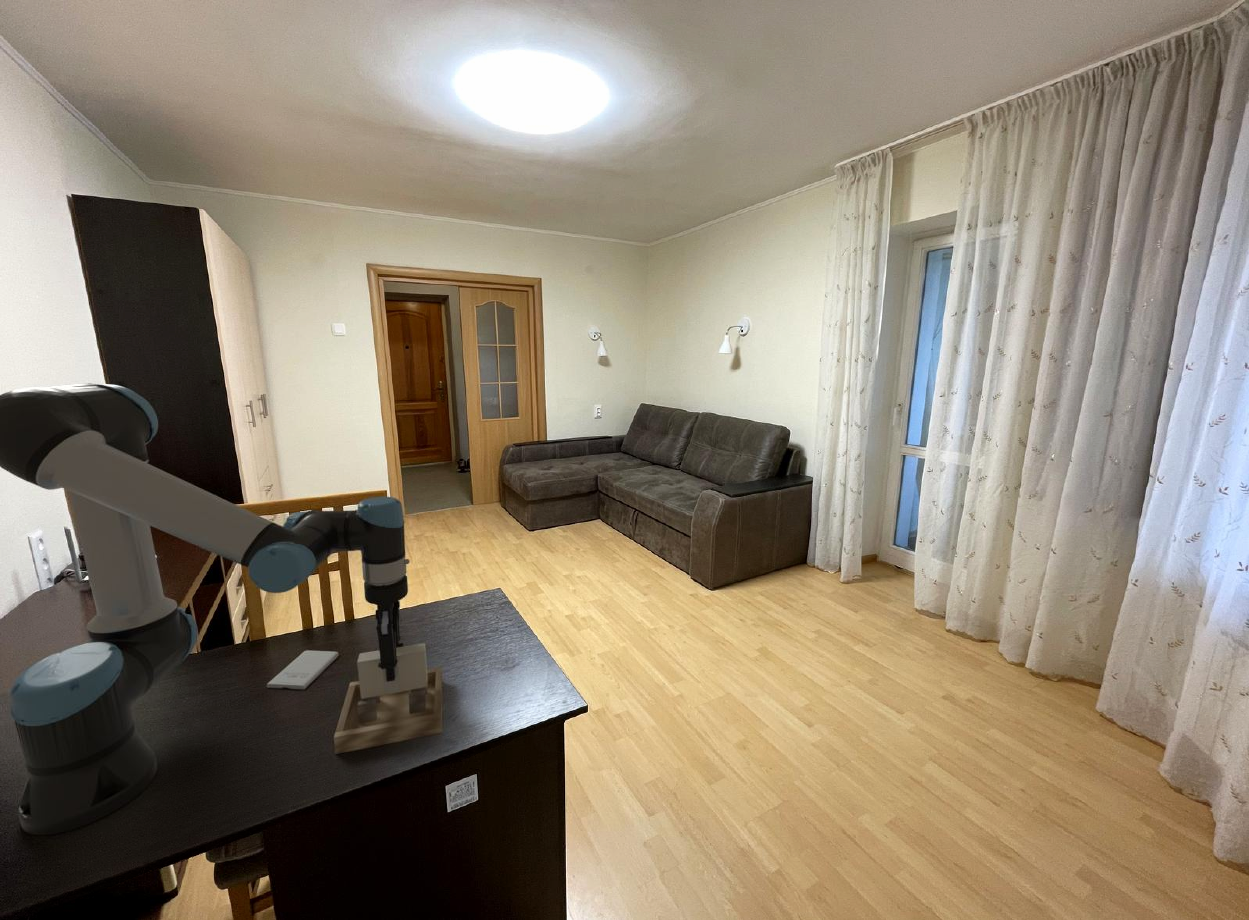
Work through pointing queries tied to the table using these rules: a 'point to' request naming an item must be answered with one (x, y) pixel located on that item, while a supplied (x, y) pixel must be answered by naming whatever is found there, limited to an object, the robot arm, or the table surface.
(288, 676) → the external hard drive
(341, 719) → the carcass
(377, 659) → the beige rectangular block
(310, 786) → the table surface
